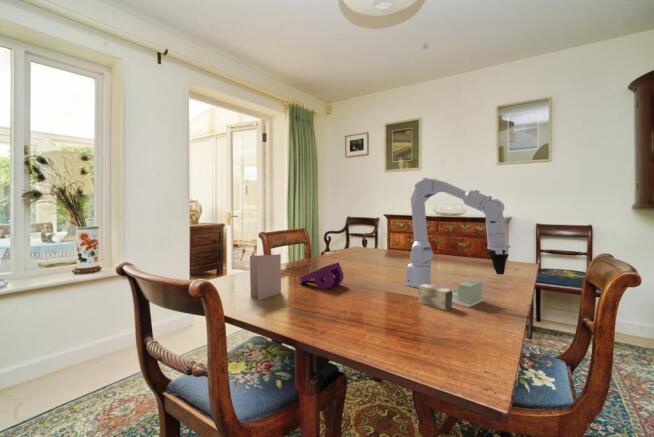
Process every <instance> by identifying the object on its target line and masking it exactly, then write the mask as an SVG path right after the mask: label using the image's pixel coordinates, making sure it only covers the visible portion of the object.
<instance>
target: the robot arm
mask: <svg viewBox="0 0 654 437" xmlns="http://www.w3.org/2000/svg"><path fill="white" fill-rule="evenodd" d="M412 192H413V193H412V195H411V197H410V205H411V206H410V207H411V208H410V209H411V217H412V218H411V219H412V227H413V228H412V233H413V243H412V246H411V247H410V248H411V251H410V255H409V258H410V261H411V262H410V263H408V265H407V266H406V270H405V271H406V273H405V274H406V275H405V276H406V277H405V284H404V285H405V286H408V287H414V288H417V289H419V286H420V285H423V284H428V285H432V286H435V283H432V263H431V262H432V260H434V258H435V257H434V255H435V254H434V251H433V250H432V246H431V243H430V242H429V240H428V228H427V215H426V202H427V201H428V200H429V199H430V198H431V197H433V196H434V195H437V194H438V193H446V194H449V195H451V196H453V197H455V198H458V199H460V200H462V202H463V203H464V205H466V206H467V207H471V208H472V209H475V210H477V211H479V212H483V214H484V215H485V228H486V229H485V230H486V241H487V246H486V247H487V249H488V250H487V253H488V254H489V257H490V258H491V262H492V265H493V269H494V271H495V273H496V275H504V274H505V270H506V262H507V259H508V257H509V253H506V249H511V245H507V241H506V240H507V239H506V228H505V220H504V211H505V204H504V202H503V201H501V200H500V199H497V198H493V196H491V195H488V196H487V195H486V194H483V193H480V190H477V189H475V190H473V189H471V190H468V191H466V190H464V189H461V188H460V187H458V186H456V185H453V184H451V183H450V182H449V183H448V182H447V181H443V180H440V179H436V178H428V177H422V178H420V179H418V181H417V182H416V183H415V184H414V190H413V191H412Z"/></svg>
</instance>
